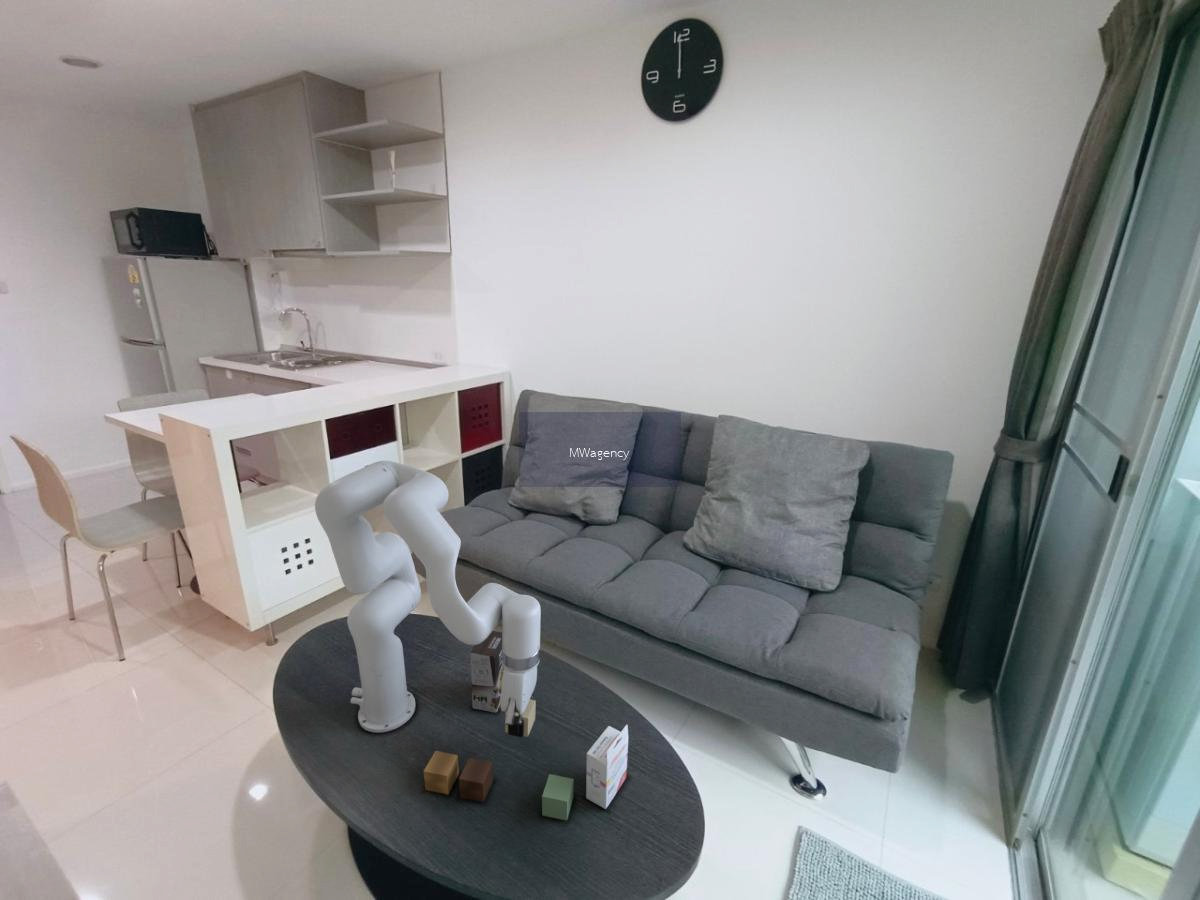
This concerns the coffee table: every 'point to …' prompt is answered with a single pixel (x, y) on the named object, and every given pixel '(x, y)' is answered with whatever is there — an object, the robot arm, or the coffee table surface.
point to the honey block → (441, 772)
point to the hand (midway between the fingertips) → (520, 723)
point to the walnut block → (476, 779)
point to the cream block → (526, 717)
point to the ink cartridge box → (607, 766)
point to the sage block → (557, 797)
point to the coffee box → (487, 673)
